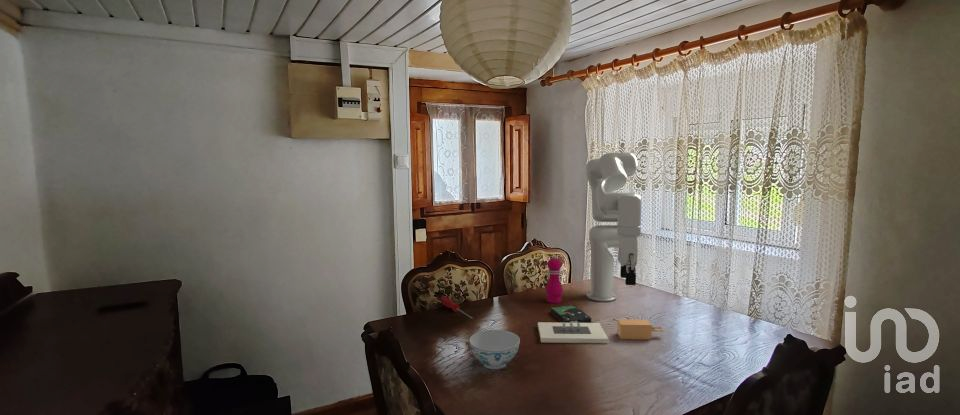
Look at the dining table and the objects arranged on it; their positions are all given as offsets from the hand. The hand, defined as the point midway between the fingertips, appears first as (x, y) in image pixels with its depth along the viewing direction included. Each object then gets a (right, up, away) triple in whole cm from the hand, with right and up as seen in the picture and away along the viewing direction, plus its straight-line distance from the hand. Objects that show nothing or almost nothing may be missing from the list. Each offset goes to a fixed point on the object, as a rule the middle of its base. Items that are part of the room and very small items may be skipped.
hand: (627, 281), depth 151 cm
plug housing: (+5, -19, +1) cm, 20 cm away
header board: (-19, -19, +3) cm, 27 cm away
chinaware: (-46, -22, -18) cm, 54 cm away
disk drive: (-16, -18, +19) cm, 30 cm away
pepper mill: (-19, -15, +39) cm, 46 cm away
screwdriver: (-59, -17, +26) cm, 67 cm away
